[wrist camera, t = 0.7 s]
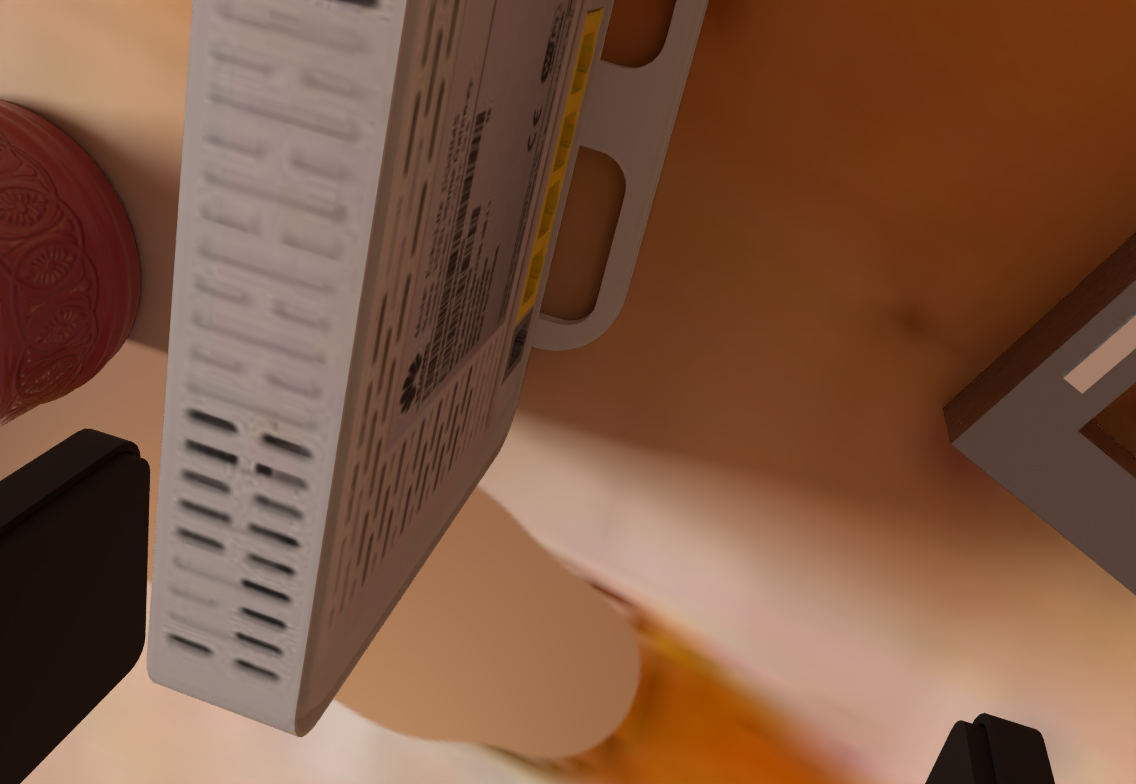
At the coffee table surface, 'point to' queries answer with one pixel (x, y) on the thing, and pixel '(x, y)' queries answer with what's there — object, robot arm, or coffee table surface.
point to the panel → (1064, 417)
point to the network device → (366, 305)
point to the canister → (58, 265)
